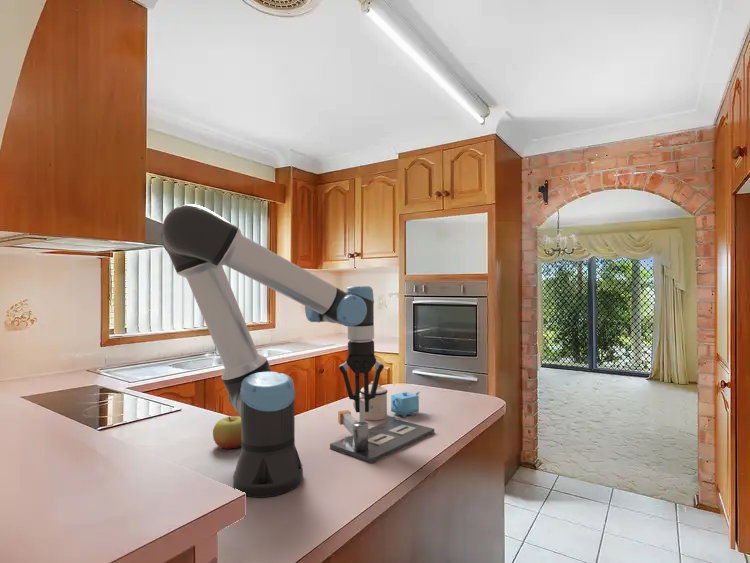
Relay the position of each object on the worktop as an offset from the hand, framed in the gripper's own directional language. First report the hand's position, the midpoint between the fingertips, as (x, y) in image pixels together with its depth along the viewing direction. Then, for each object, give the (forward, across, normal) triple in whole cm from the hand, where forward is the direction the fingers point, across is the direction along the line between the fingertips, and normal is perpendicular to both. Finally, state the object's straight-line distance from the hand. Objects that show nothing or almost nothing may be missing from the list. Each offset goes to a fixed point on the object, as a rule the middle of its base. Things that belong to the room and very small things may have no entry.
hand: (362, 423), depth 121 cm
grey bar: (+3, +3, +3) cm, 5 cm away
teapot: (+5, -16, -23) cm, 28 cm away
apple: (+5, +36, +1) cm, 36 cm away
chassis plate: (+5, -6, +1) cm, 8 cm away
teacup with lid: (+5, -4, -20) cm, 21 cm away
